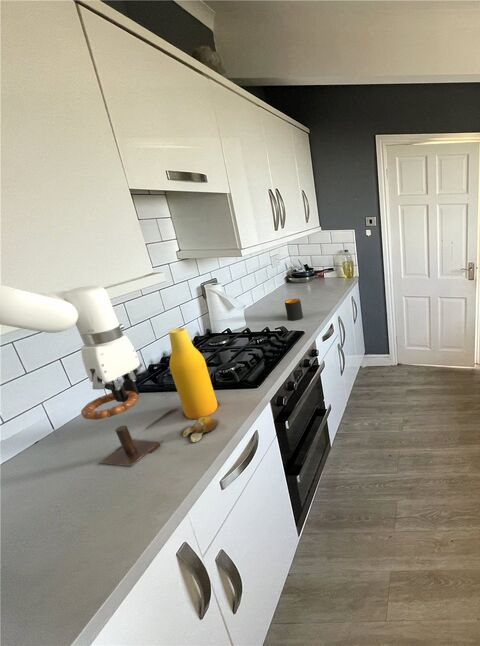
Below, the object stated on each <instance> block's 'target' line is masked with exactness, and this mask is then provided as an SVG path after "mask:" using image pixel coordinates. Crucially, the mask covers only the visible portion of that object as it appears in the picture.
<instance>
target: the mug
mask: <svg viewBox="0 0 480 646" xmlns="http://www.w3.org/2000/svg"><path fill="white" fill-rule="evenodd" d="M284 306H285V310H286V317H287V320H288V321H290V322H291V321H292V322H293V321H299V320H302V319H303V318H304V313H303V308H302V304H301V299H300V298H290V299H287V300H285V301H284Z"/></svg>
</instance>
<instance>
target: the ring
mask: <svg viewBox="0 0 480 646" xmlns="http://www.w3.org/2000/svg"><path fill="white" fill-rule="evenodd" d="M125 392H126V394H127V398H128V399H127V401H125V402H121V403H120V404H118V405H115V406H113V407H110V408H108V409H107V408H106V409H102V410H95V409H97V408H99V407H101V406H102V405H104V404H107V403H110V402H112V401H116V400H115V398H114V396H113V394H112V392H110V393H108V394H104V395H102V396H99V397H97V398H95V399H94V400H92V401H90V402H88V403H87V404H86V405H84V407H83V408H82V409H81V411H80V414H81V416H82V418H83V419H85V420H92V421H93V420H94V421H96V420H102V419H108V418H112V417H113V416H116V415H119V414H121V413H124V412H126V411H128V410H129V409H130V408H132V407H134V406H135V405H136V403H137V402H138V401H139V399H140V396H139V395H137V394H136V393H135V392H134V391H125Z"/></svg>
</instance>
